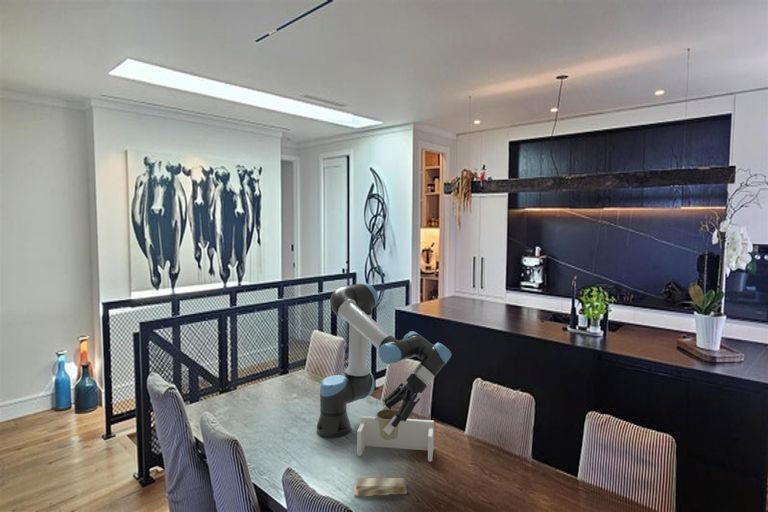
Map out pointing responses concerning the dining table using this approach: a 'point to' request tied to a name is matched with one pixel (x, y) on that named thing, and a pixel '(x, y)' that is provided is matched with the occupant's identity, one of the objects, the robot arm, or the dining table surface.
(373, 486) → the offcut stack
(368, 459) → the dining table surface
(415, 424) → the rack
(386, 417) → the flower pot
